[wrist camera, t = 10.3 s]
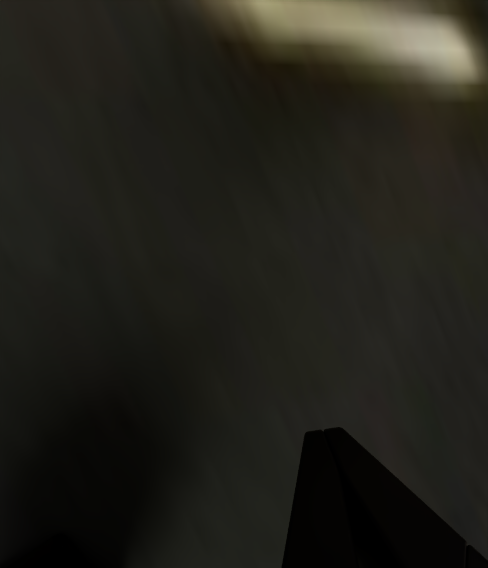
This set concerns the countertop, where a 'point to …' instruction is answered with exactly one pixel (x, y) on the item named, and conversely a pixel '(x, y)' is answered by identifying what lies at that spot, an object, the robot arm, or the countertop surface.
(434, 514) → the robot arm
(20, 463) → the countertop surface
